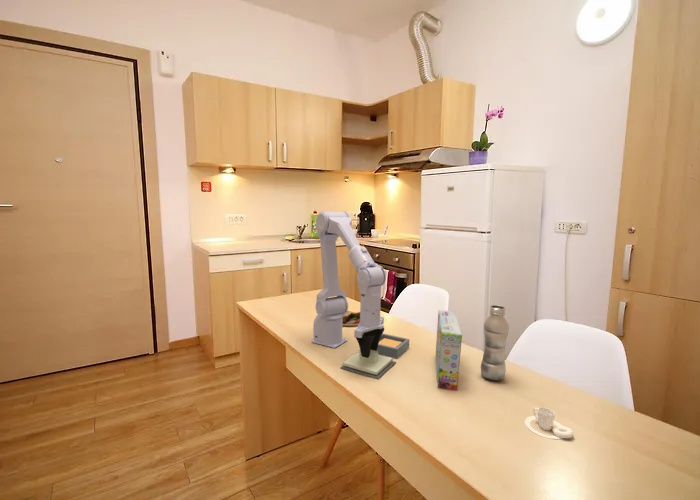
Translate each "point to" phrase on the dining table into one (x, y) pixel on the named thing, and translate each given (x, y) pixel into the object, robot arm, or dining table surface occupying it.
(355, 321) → the toy sandwich meal
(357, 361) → the lid
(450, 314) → the snack box
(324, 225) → the robot arm
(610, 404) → the dining table surface
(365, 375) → the mat
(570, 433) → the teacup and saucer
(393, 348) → the box
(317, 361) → the dining table surface
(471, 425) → the dining table surface
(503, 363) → the plastic bottle
